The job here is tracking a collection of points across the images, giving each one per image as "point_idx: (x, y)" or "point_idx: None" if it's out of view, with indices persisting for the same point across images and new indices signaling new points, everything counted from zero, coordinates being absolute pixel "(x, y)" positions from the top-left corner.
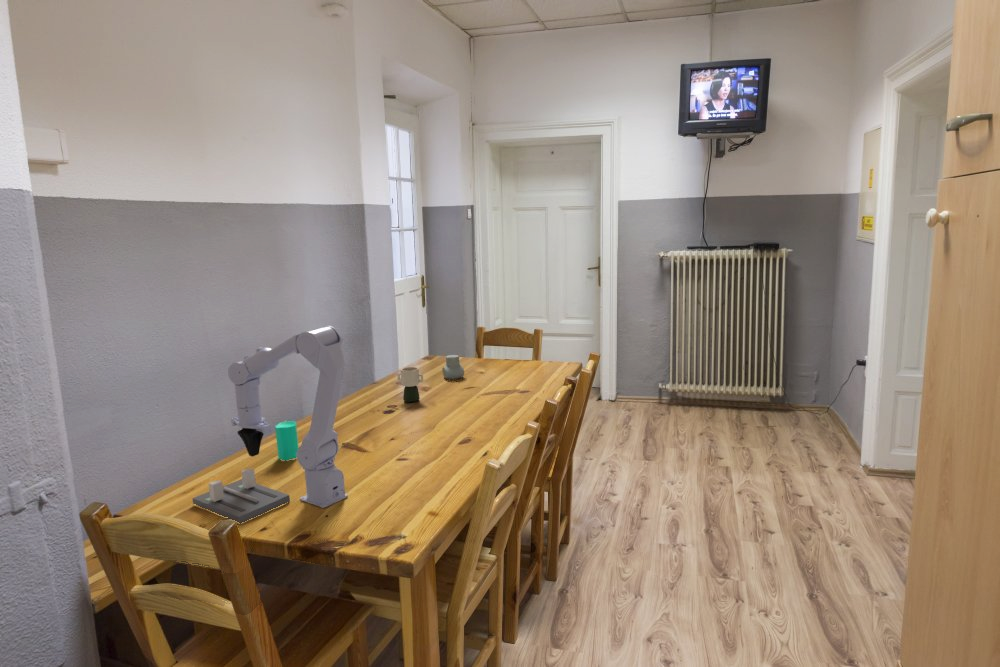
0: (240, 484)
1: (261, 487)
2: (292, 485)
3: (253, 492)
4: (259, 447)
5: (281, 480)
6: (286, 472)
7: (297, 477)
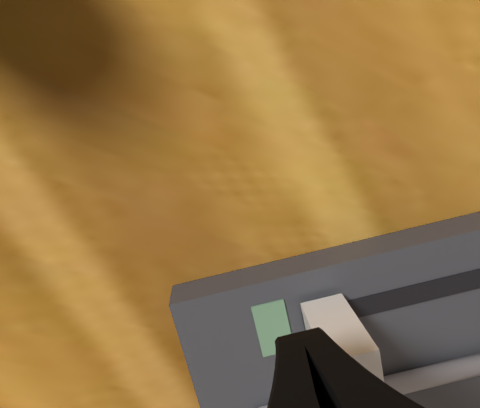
0: (242, 336)
1: (370, 272)
2: (368, 92)
3: (396, 321)
4: (352, 359)
5: (251, 107)
6: (148, 26)
7: (280, 13)
